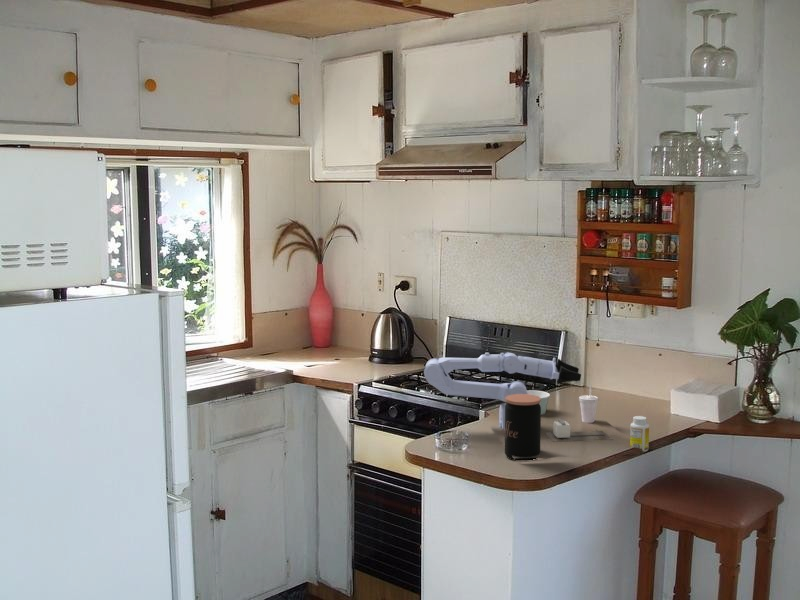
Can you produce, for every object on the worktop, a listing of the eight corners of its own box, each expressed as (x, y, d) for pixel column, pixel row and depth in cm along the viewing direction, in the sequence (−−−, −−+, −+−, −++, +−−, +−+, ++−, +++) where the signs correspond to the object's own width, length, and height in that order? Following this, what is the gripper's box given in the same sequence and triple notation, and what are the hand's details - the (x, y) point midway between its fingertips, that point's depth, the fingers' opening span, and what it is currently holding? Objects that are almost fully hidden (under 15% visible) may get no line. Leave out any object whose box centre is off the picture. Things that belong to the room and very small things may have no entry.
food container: (547, 407, 333) (547, 390, 332) (552, 416, 321) (552, 398, 320) (514, 407, 333) (514, 390, 332) (517, 416, 321) (517, 398, 320)
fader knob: (557, 437, 288) (557, 423, 287) (553, 433, 293) (553, 419, 292) (569, 437, 288) (570, 423, 287) (565, 433, 293) (565, 419, 292)
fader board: (553, 446, 285) (553, 441, 285) (544, 437, 295) (545, 432, 295) (612, 444, 287) (612, 439, 287) (602, 435, 297) (602, 430, 297)
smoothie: (597, 428, 305) (598, 387, 303) (578, 427, 306) (579, 386, 304) (597, 423, 311) (598, 383, 309) (578, 422, 313) (579, 382, 311)
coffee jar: (501, 451, 280) (502, 394, 278) (535, 450, 281) (536, 393, 278) (508, 462, 270) (508, 402, 267) (543, 461, 270) (544, 401, 268)
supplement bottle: (644, 447, 284) (645, 414, 283) (651, 452, 278) (652, 419, 277) (627, 447, 283) (628, 415, 282) (633, 453, 278) (634, 420, 277)
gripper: (541, 361, 292) (583, 368, 291) (538, 350, 306) (579, 357, 305) (537, 382, 293) (579, 389, 292) (535, 370, 308) (575, 377, 307)
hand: (579, 374), depth 299 cm, fingers open, 7 cm apart
